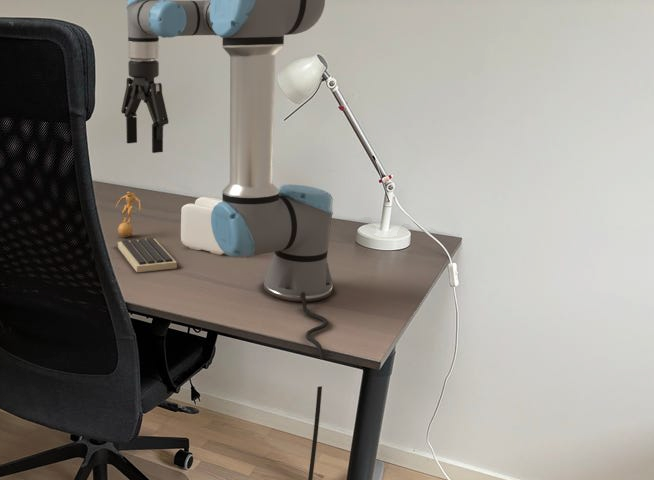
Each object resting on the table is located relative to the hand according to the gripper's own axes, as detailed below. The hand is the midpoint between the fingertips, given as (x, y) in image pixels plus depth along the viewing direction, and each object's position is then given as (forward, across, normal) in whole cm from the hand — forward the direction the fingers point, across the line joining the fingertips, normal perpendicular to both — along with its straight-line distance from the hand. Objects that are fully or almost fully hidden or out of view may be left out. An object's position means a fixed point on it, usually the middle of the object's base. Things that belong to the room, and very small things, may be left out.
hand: (144, 147), depth 192 cm
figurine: (+24, +1, +5) cm, 24 cm away
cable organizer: (+24, -18, -10) cm, 31 cm away
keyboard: (+23, -17, +9) cm, 30 cm away
